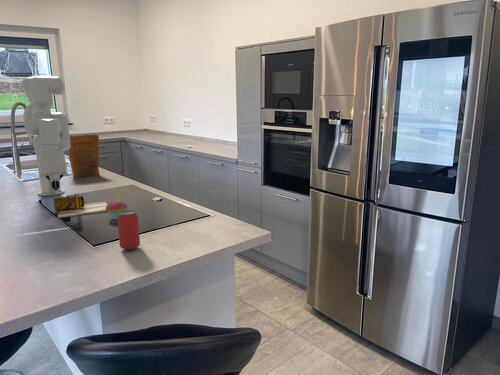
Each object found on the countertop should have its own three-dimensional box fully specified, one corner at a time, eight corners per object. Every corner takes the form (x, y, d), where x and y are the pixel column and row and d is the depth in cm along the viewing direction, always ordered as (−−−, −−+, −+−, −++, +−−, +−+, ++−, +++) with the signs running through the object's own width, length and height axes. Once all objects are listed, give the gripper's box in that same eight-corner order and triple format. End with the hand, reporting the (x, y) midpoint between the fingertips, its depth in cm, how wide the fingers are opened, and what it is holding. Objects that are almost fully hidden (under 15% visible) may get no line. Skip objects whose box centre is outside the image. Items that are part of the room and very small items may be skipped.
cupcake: (131, 216, 164) (129, 188, 161) (119, 221, 156) (116, 193, 153) (115, 214, 167) (112, 187, 164) (102, 220, 159) (99, 192, 156)
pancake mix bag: (102, 178, 246) (98, 134, 240) (70, 180, 239) (65, 136, 233) (102, 176, 252) (98, 134, 246) (70, 179, 245) (65, 135, 239)
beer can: (122, 243, 132) (119, 210, 130) (141, 242, 133) (139, 209, 130) (117, 250, 126) (114, 215, 123) (138, 249, 126) (135, 215, 124)
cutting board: (57, 208, 176) (57, 207, 176) (105, 203, 185) (105, 201, 185) (58, 217, 162) (57, 216, 162) (110, 211, 171) (109, 209, 171)
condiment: (55, 213, 166) (85, 209, 172) (53, 194, 165) (83, 190, 171) (54, 211, 172) (83, 207, 178) (52, 192, 171) (81, 189, 177)
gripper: (70, 146, 169) (74, 186, 173) (31, 148, 163) (37, 190, 167) (70, 148, 163) (75, 189, 167) (30, 150, 156) (36, 193, 160)
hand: (56, 189), depth 167 cm, fingers closed
